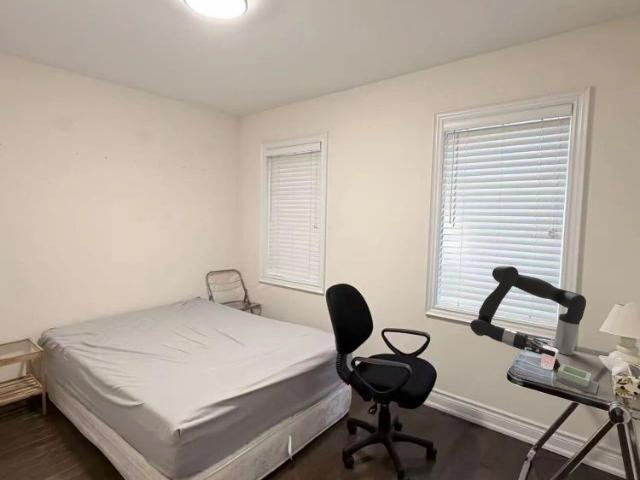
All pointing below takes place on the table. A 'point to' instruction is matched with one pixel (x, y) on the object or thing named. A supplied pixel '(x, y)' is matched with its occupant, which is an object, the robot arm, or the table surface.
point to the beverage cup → (548, 357)
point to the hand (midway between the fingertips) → (556, 352)
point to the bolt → (556, 364)
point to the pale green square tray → (576, 378)
